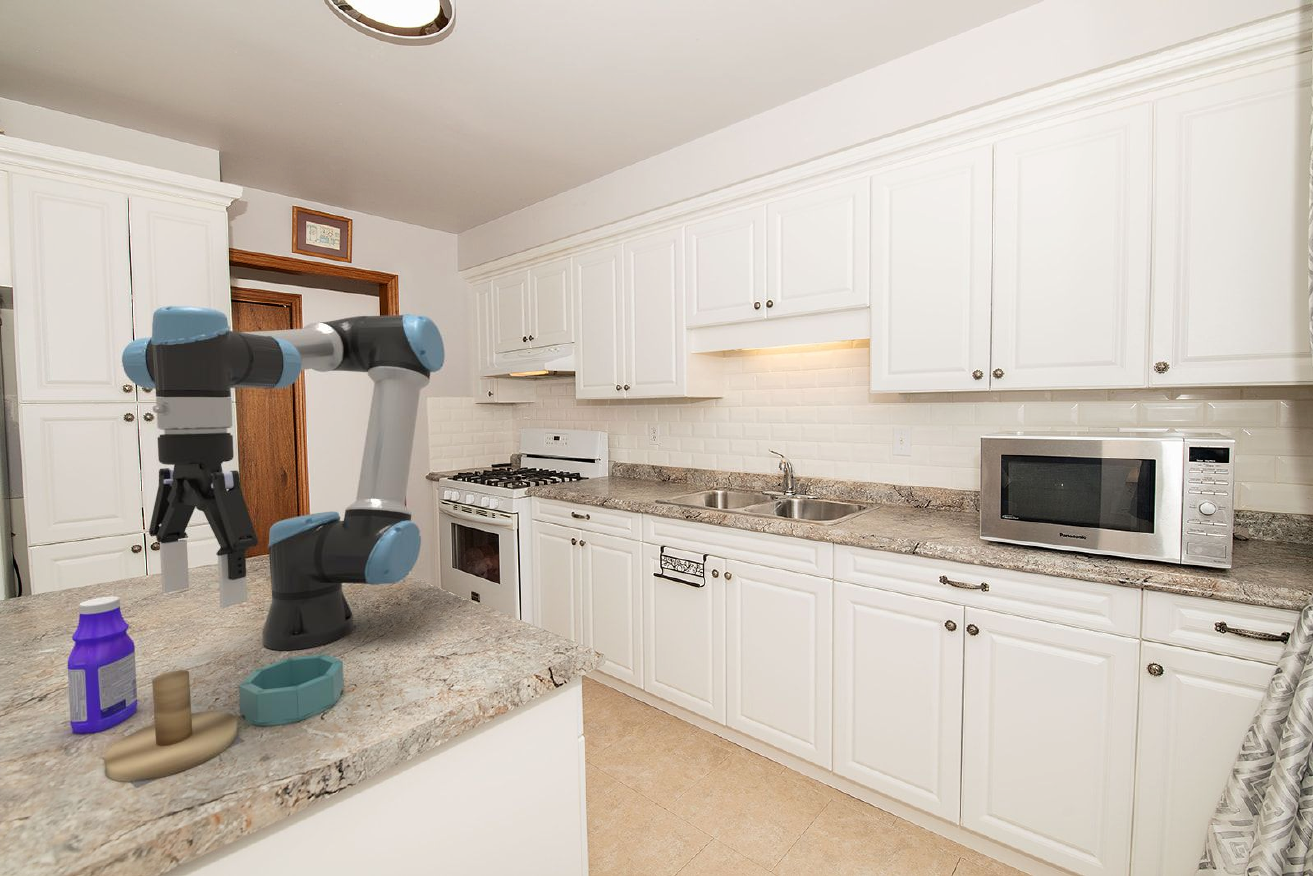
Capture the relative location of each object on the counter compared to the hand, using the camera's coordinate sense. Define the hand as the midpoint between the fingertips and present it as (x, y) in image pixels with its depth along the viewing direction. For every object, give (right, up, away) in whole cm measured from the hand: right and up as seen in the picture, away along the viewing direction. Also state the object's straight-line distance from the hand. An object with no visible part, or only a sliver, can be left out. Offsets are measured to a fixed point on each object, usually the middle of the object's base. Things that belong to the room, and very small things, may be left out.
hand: (203, 597), depth 76 cm
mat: (-3, -20, -1) cm, 20 cm away
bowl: (+5, -19, +11) cm, 22 cm away
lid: (-3, -19, -1) cm, 19 cm away
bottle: (-19, -20, +7) cm, 28 cm away
